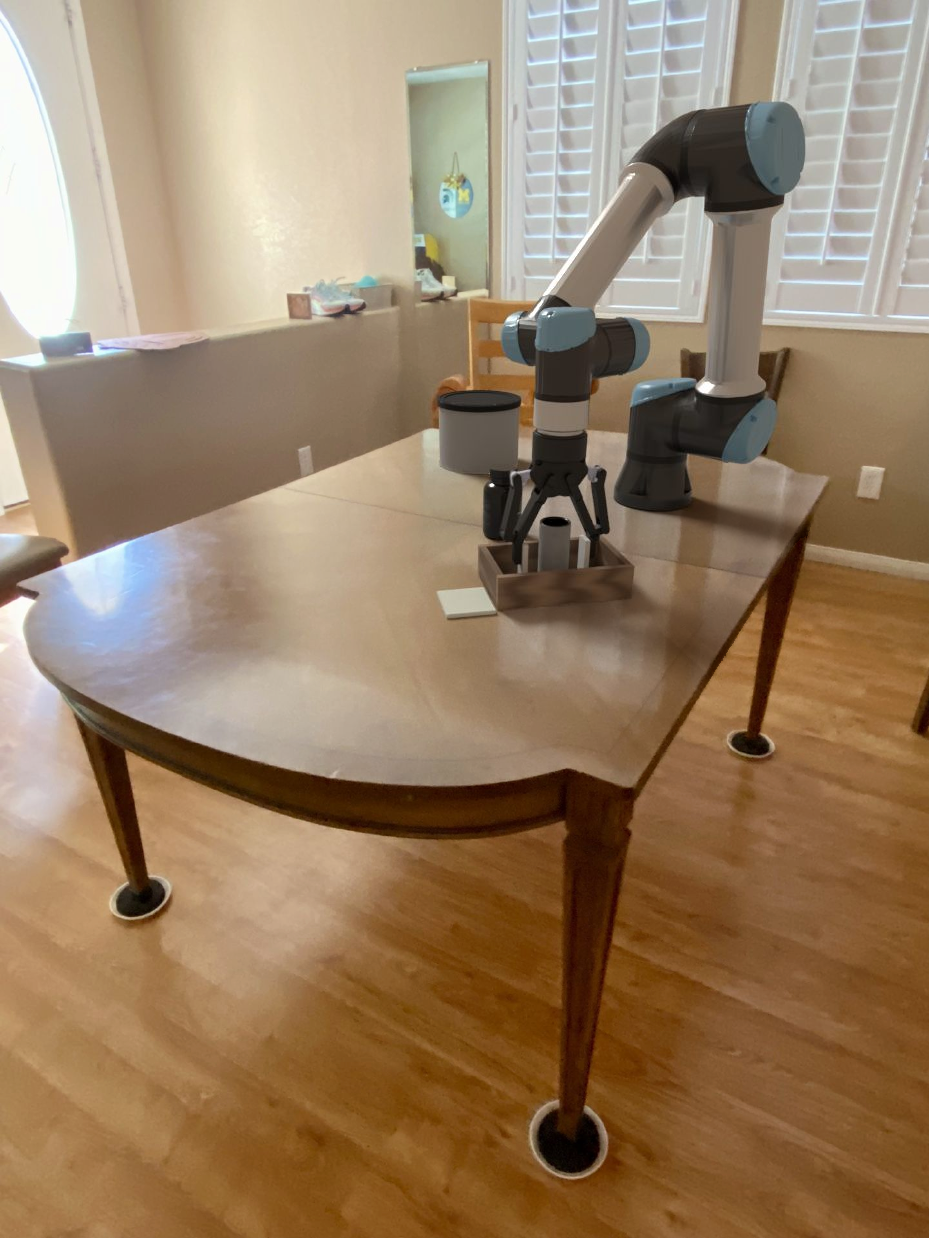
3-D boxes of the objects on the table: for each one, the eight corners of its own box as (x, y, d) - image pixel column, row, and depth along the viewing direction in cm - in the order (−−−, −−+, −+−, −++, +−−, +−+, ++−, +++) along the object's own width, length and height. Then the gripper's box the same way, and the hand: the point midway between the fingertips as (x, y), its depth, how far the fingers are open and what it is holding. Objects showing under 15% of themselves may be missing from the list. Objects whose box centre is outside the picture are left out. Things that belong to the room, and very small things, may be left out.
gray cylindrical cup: (570, 582, 116) (574, 517, 112) (563, 594, 112) (567, 528, 108) (540, 578, 118) (543, 514, 113) (533, 590, 114) (536, 524, 109)
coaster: (483, 590, 114) (483, 586, 113) (495, 613, 107) (495, 610, 106) (436, 594, 112) (436, 590, 112) (446, 618, 105) (446, 614, 105)
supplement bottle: (518, 542, 132) (520, 474, 126) (479, 539, 133) (479, 471, 127) (523, 528, 138) (525, 463, 132) (486, 526, 139) (486, 461, 133)
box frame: (599, 564, 122) (602, 535, 120) (631, 598, 111) (634, 566, 109) (478, 574, 119) (478, 544, 117) (497, 610, 108) (498, 578, 105)
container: (521, 474, 169) (523, 405, 162) (436, 474, 169) (434, 405, 162) (517, 452, 186) (519, 389, 179) (439, 452, 186) (438, 389, 179)
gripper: (623, 420, 110) (610, 565, 120) (477, 427, 106) (477, 576, 116) (644, 431, 103) (629, 584, 113) (490, 439, 99) (488, 597, 109)
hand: (552, 580), depth 115 cm, fingers open, 9 cm apart
